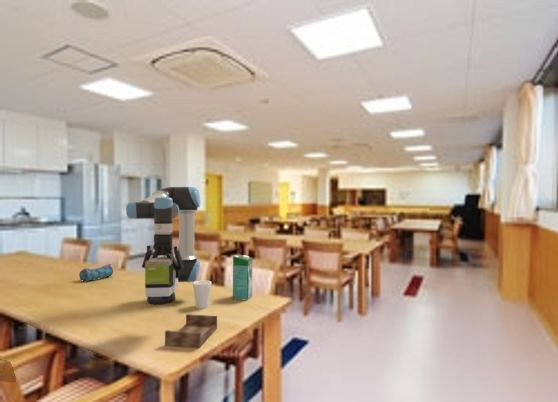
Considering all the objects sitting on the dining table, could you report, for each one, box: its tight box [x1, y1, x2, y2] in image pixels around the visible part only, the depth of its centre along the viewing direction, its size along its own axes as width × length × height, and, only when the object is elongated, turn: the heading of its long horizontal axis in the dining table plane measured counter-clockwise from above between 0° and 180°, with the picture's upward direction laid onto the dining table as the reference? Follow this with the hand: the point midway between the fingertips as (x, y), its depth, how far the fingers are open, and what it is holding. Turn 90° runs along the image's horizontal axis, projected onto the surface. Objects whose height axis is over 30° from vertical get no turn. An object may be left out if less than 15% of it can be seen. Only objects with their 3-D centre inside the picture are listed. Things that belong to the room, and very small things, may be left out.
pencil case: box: [78, 264, 114, 282], centre depth 240 cm, size 21×9×10 cm, turn 154°
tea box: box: [144, 254, 179, 298], centre depth 142 cm, size 15×10×15 cm, turn 3°
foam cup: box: [192, 279, 212, 310], centre depth 177 cm, size 10×9×13 cm
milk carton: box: [232, 253, 253, 301], centre depth 195 cm, size 9×9×25 cm
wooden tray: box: [164, 313, 218, 349], centre depth 138 cm, size 14×20×6 cm
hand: (162, 285), depth 141 cm, fingers closed on tea box, 11 cm apart
